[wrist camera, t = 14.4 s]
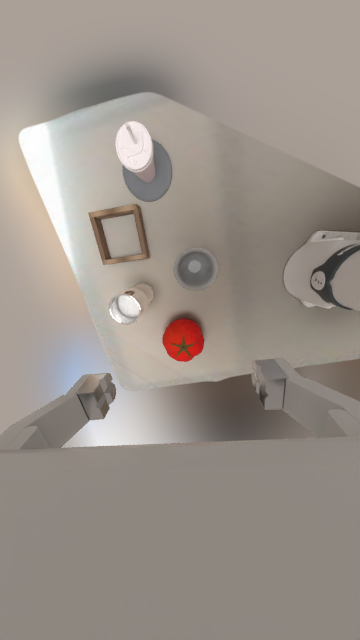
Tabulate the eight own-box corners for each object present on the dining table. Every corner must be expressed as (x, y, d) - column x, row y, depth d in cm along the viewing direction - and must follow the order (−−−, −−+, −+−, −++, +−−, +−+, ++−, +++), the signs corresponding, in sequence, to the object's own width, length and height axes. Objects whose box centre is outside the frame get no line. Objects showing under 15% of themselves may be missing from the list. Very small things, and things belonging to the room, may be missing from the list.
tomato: (196, 352, 54) (198, 375, 44) (161, 342, 54) (155, 364, 43) (208, 318, 50) (213, 335, 39) (171, 308, 49) (166, 322, 39)
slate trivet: (167, 135, 36) (167, 133, 35) (175, 196, 39) (175, 196, 39) (117, 146, 37) (116, 144, 36) (130, 205, 40) (129, 204, 40)
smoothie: (167, 172, 37) (155, 127, 24) (148, 196, 39) (127, 167, 26) (146, 145, 36) (121, 83, 23) (127, 172, 38) (93, 128, 25)
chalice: (180, 278, 46) (174, 291, 29) (179, 251, 44) (172, 248, 27) (207, 277, 46) (217, 289, 29) (207, 249, 43) (219, 246, 26)
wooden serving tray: (140, 207, 41) (136, 203, 38) (149, 257, 45) (147, 257, 42) (95, 215, 42) (88, 212, 39) (108, 264, 46) (103, 264, 43)
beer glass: (159, 287, 47) (146, 300, 33) (151, 309, 50) (135, 330, 36) (135, 277, 47) (112, 287, 33) (128, 300, 49) (104, 318, 35)
